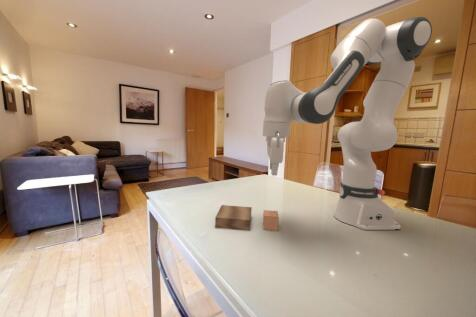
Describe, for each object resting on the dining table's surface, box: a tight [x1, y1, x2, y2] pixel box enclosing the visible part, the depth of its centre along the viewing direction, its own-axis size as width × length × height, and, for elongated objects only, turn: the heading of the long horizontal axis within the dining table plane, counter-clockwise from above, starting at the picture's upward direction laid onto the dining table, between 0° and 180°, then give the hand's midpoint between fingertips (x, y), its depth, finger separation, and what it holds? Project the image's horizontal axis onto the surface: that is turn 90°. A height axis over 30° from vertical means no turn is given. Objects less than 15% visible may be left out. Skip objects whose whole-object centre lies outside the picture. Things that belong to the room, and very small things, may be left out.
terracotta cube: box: [262, 209, 280, 232], centre depth 73 cm, size 5×5×5 cm
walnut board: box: [214, 204, 253, 231], centre depth 76 cm, size 12×12×4 cm
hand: (273, 172), depth 71 cm, fingers open, 8 cm apart
